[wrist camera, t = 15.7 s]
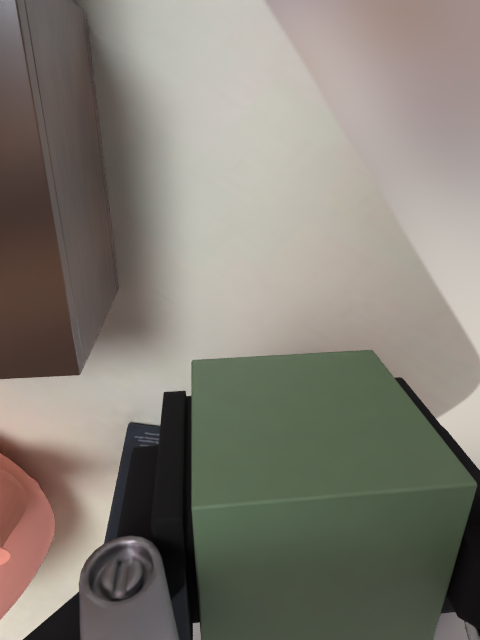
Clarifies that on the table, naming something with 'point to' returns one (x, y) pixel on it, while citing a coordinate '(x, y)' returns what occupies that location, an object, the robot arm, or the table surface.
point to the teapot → (21, 531)
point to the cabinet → (50, 193)
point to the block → (320, 501)
